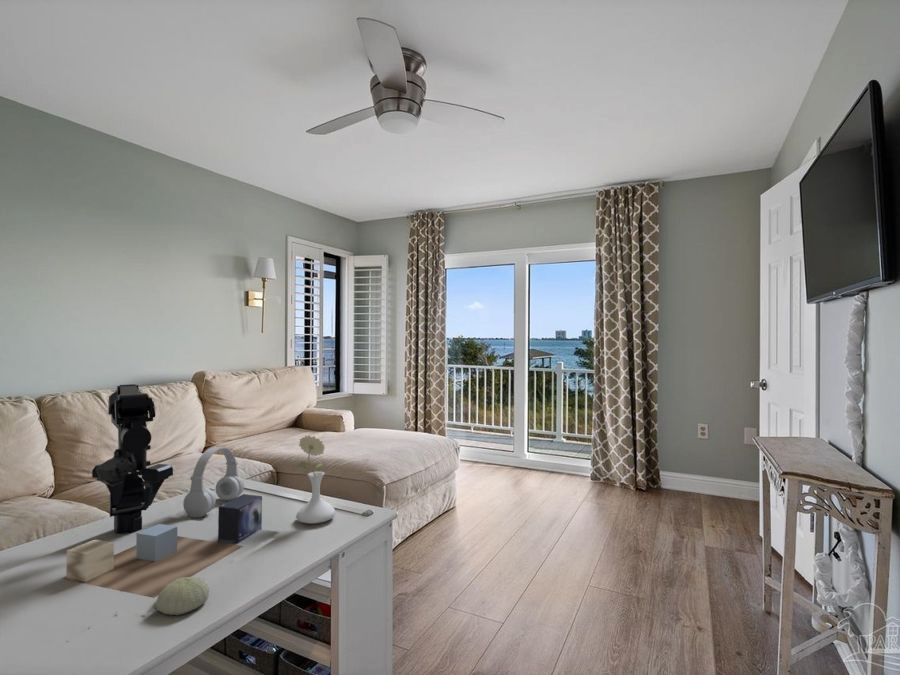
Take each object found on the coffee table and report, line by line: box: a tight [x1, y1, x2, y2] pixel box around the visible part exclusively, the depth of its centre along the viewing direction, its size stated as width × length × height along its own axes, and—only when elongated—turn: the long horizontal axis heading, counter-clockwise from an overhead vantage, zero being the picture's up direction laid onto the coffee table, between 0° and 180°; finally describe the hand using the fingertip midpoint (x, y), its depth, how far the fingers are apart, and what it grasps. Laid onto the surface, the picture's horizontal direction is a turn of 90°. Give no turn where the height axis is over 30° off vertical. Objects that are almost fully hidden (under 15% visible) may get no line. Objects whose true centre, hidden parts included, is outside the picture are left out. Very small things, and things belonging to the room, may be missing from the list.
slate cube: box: [135, 523, 178, 562], centre depth 112 cm, size 6×6×6 cm
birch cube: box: [65, 539, 115, 582], centre depth 103 cm, size 6×6×6 cm
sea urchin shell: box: [155, 576, 210, 616], centre depth 93 cm, size 9×8×8 cm
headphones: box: [183, 446, 245, 519], centre depth 149 cm, size 20×8×19 cm, turn 172°
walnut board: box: [60, 535, 244, 599], centre depth 109 cm, size 27×25×1 cm
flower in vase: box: [295, 435, 336, 525], centre depth 138 cm, size 13×11×25 cm
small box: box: [217, 493, 263, 544], centre depth 124 cm, size 11×6×10 cm, turn 168°
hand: (132, 504), depth 117 cm, fingers open, 9 cm apart
